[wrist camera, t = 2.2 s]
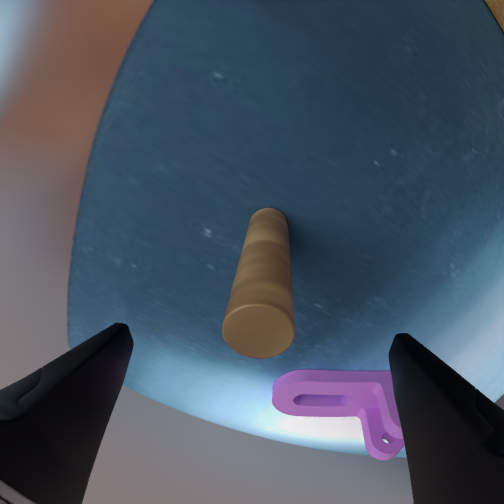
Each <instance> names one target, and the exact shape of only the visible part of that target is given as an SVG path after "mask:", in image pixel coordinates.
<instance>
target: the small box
mask: <svg viewBox="0 0 504 504" xmlns="http://www.w3.org/2000/svg"><path fill="white" fill-rule="evenodd" d="M485 2H486V3H487V5H488V7H489V8H490V10H491V11H492V13H493V15H494V16H495V18H496V20H497V21H498V23H499V25H500V27H501V28H502V30H503V32H504V0H485Z"/></svg>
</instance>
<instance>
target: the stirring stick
mask: <svg viewBox="0 0 504 504" xmlns="http://www.w3.org/2000/svg"><path fill="white" fill-rule="evenodd" d="M222 333H223V337H224V339H225V341H226V343H227V344H228V345H229V346H230V347H231V348H232V349H233V350H234V351H236V352H237V353H239V354H241V355H244V356H247V357H251V358H259V359H261V358H270V357H274V356H277V355H279V354H281V353H283V352H284V351H285V350H287V349H288V348H289V346H290V345H291V344H292V342H293V340H294V337H295V317H294V300H293V285H292V271H291V257H290V244H289V232H288V222H287V219H286V217H285V216H284V215H283V214H282V213H281V212H280V211H278V210H276V209H273V208H263V209H260V210H258V211H257V212H255V213H254V214H253V216H252V217H251V219H250V222H249V226H248V230H247V234H246V237H245V241H244V245H243V249H242V252H241V256H240V260H239V264H238V267H237V271H236V275H235V279H234V282H233V286H232V290H231V294H230V298H229V301H228V305H227V309H226V313H225V317H224V321H223V324H222Z"/></svg>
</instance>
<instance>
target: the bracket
mask: <svg viewBox="0 0 504 504" xmlns="http://www.w3.org/2000/svg"><path fill="white" fill-rule="evenodd" d="M307 394H313V395H307ZM272 403H273V405H274V407H275V408H276V409H277V410H279V411H280V412H282V413H285V414H288V415H294V416H317V417H346V416H357V417H359V418H360V419H361V423H362V429H363V435H364V441H365V447H366V450H367V452H368V453H369V454H370V455H371V456H372V457H373V458H375V459H378V460H389V459H391V458H393V457H394V456H395V455H396V454H397V453H398V452H399V451H400V450H401V449H402V448H403V447H404V445H405V444H404V439H403V434H402V429H401V424H400V420H399V415H398V411H397V406H396V402H395V397H394V391H393V384H392V376H391V371H336V370H313V369H301V370H295V371H291V372H288V373H286V374H284V375H282V376H281V377H279V378H278V379H277V380H276V381H275V383H274V385H273V394H272ZM383 439H385V440H387V441H388V442H389V444H387V443H385V442H384V441H383Z"/></svg>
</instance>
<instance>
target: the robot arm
mask: <svg viewBox="0 0 504 504" xmlns="http://www.w3.org/2000/svg"><path fill="white" fill-rule="evenodd" d="M132 350H133V339H132V336H131V333H130V330H129V327H128V326H127V324H123V323H115V324H113V325H111V326H110V327H108V328H106V329H105V330H103V331H101V332H100V333H98V334H96V335H95V336H93V337H91V338H90V339H88V340H86V341H85V342H83V343H81V344H80V345H78V346H76V347H75V348H73V349H71V350H70V351H68V352H66V353H65V354H63V355H61V356H60V357H58V358H56V359H55V360H53V361H51V362H50V363H48V364H46V365H45V366H43V367H42V368H40V369H38V370H37V371H35V372H33V373H32V374H30V375H28V376H27V377H25V378H23V379H21V380H19V381H17V382H15V383H13V384H11V385H9V386H7V387H5V388H3V389H1V390H0V504H82V501H83V498H84V494H85V491H86V488H87V484H88V481H89V477H90V474H91V471H92V468H93V464H94V462H95V459H96V456H97V453H98V449H99V447H100V444H101V441H102V438H103V435H104V432H105V430H106V427H107V424H108V422H109V419H110V416H111V413H112V411H113V408H114V406H115V403H116V400H117V398H118V395H119V392H120V390H121V387H122V385H123V382H124V379H125V375H126V371H127V368H128V364H129V361H130V357H131V354H132ZM389 362H390V369H391V376H392V384H393V391H394V397H395V402H396V406H397V411H398V415H399V420H400V424H401V429H402V434H403V439H404V444H405V449H406V455H407V460H408V466H409V472H410V479H411V486H412V493H413V500H414V504H504V410H503V409H502V408H500V407H499V406H498V405H496V404H495V403H494V402H492V401H491V400H490V399H489V398H487V397H486V396H485V395H484V394H482V393H481V392H480V391H479V390H478V389H476V388H475V387H474V386H473V385H471V384H470V383H469V382H468V381H467V380H465V379H464V378H463V377H462V376H461V375H459V374H458V373H457V372H456V371H454V370H453V369H452V368H451V367H450V366H448V365H447V364H446V363H445V362H443V361H442V360H441V359H440V358H438V357H437V356H436V355H435V354H433V353H432V352H431V351H430V350H428V349H427V348H426V347H425V346H423V345H422V344H421V343H420V342H418V341H417V340H416V339H414V338H413V337H412V336H411V335H409V334H408V333H399V334H396V335H395V337H394V340H393V343H392V346H391V348H390V351H389Z"/></svg>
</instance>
